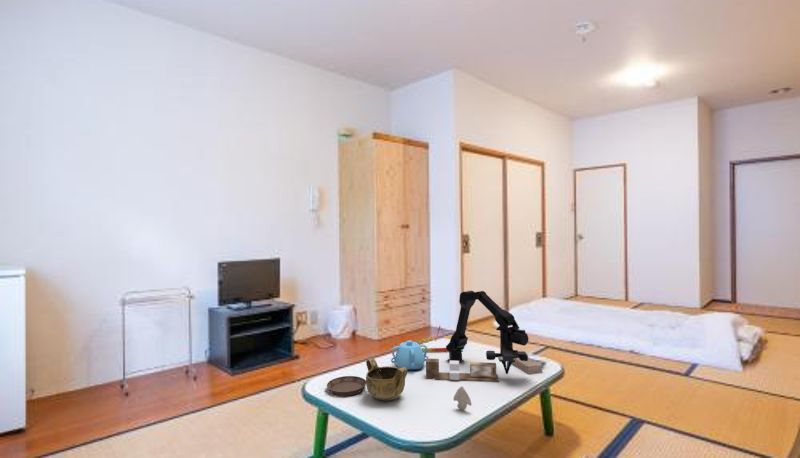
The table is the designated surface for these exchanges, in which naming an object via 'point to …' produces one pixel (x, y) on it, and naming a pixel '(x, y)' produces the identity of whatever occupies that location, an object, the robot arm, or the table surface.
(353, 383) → the plant saucer
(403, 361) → the decorative pot
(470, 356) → the table surface
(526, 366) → the brick
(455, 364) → the white chair-shaped block
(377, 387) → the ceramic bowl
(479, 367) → the wall mounted shelf tray
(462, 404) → the arrowhead
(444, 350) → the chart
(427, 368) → the wooden shelf
